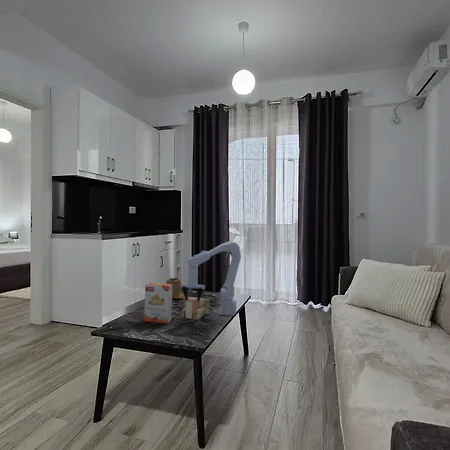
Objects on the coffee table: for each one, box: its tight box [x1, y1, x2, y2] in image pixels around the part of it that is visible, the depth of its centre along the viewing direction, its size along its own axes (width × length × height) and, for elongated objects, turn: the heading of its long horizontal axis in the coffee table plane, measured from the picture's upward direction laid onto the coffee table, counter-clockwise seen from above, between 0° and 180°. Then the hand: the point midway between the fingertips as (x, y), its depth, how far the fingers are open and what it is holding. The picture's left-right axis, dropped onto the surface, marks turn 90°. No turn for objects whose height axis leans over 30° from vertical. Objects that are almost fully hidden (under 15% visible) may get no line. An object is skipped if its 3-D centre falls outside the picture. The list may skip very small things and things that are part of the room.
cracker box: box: [143, 282, 173, 325], centre depth 177 cm, size 14×6×21 cm, turn 79°
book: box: [185, 296, 198, 320], centre depth 188 cm, size 4×10×10 cm, turn 165°
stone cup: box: [165, 276, 185, 300], centre depth 230 cm, size 15×12×15 cm
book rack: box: [179, 296, 210, 321], centre depth 189 cm, size 16×14×9 cm
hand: (192, 300), depth 189 cm, fingers open, 7 cm apart
